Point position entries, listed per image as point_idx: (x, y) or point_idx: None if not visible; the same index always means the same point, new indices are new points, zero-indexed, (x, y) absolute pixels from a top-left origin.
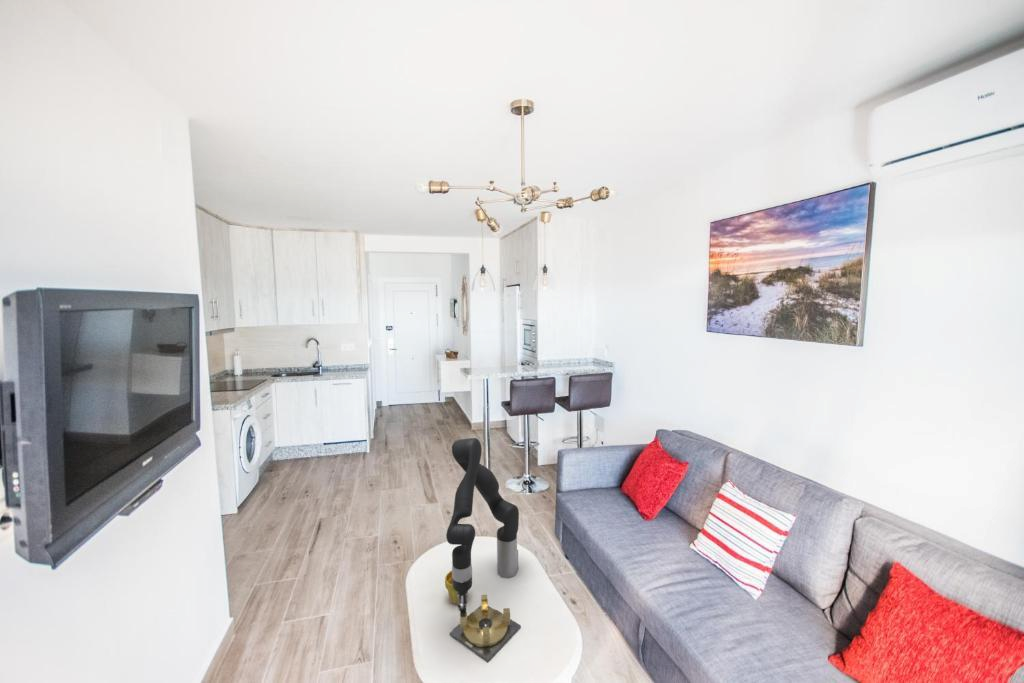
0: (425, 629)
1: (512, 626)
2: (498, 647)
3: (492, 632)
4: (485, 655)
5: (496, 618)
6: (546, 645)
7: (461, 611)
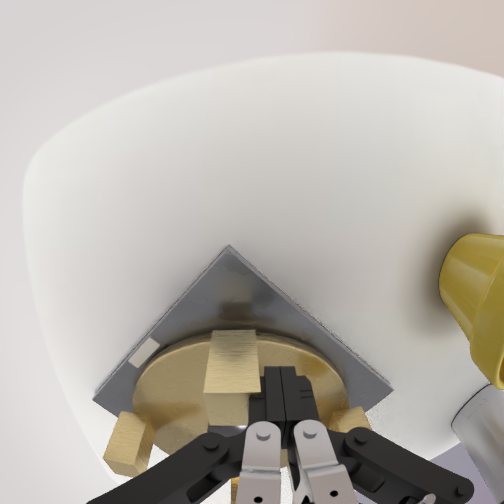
0: (292, 89)
1: None
2: None
3: None
4: (106, 397)
5: None
6: None
7: (249, 412)
